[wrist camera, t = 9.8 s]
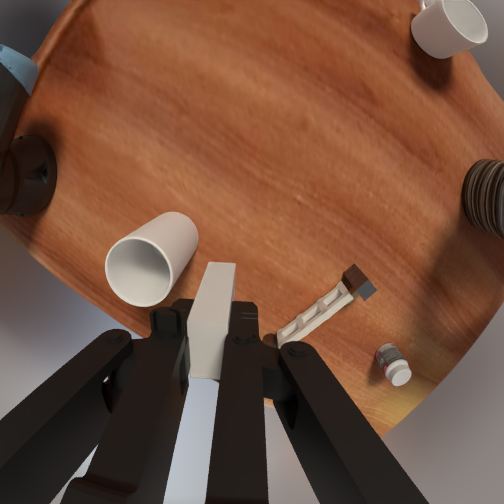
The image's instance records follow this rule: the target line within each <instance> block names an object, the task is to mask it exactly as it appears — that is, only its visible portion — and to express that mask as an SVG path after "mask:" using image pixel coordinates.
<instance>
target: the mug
mask: <svg viewBox="0 0 504 504" xmlns="http://www.w3.org/2000/svg"><path fill="white" fill-rule="evenodd" d="M419 5H420V8H421V12H420V13H419V14H418V15H417V16H415V17H414V19H413V20H412V22H411V31H412V35H413V37H414V39H415V41H416V42H417V44H418V45H419V46H420V47H421V48H422V49H423V51H425V52H426V53H427V54H429V55H430V56H432V57H434V58H438V59H445V58H449V57H451V56H453V55H456V54H458V53H460V52H463V51H465V50H468V49H470V48H472V47H475V46H478V45H480V44H482V43H485V42H486V40H487V38H488V28H487V25H486V22H485V20H484V18H483V16H482V14H481V13H480V12H479V10H478V9H477V8H476V7H475V6H474V4H473V3H471V2H470V1H469V0H436V1H435V2H433V3H432V4H431V5H429V6H428V7H427V8H426V7H425V5H424V0H419Z"/></svg>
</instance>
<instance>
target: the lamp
mask: <svg viewBox="0 0 504 504" xmlns="http://www.w3.org/2000/svg"><path fill="white" fill-rule="evenodd" d="M463 207H464V211H465V214H466V216H467V218H468V220H469V222H470V223H471V224H472V225H473V226H474V227H475V228H477V229H478V230H481V231H483V232H485V233H487V234H489V235H492V236H495V237H497V238H499V239H501V240H503V241H504V161H500V160H492V159H482V160H479V161H477V162H476V163H475V164H474V165H473V166H472V167H471V168H470V170H469V171H468V173H467V175H466V178H465V181H464V186H463Z"/></svg>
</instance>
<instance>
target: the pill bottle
mask: <svg viewBox="0 0 504 504" xmlns="http://www.w3.org/2000/svg"><path fill="white" fill-rule="evenodd" d="M376 359H377V361H378V363H379V365H380V367H381V369H382V370H383V372H384V374H385V376H386V377H387V379H389V380H390V381H391V382H392V384H393V385H394V386H401V385H403V384H405V383H406V382H407V381H408V380H409V379H410V377H411V371H410V369H409V367H408V363H407V361H406V360H405V358H404V357H403V355H402V354H401V352H400V351H399V349H398V348H397V346H396V345H395V344H393V343H387V344H384V345H382V346H381V347H380V348H379V349H378V350H377V352H376Z"/></svg>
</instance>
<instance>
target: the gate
mask: <svg viewBox="0 0 504 504" xmlns="http://www.w3.org/2000/svg"><path fill="white" fill-rule="evenodd" d="M341 294H342V295H341ZM340 295H341V296H340ZM339 296H340V297H339ZM337 297H339V298H338V299H336V298H337ZM335 299H336V300H335ZM353 299H354V298H353V297H352V295H351V294H350V292H349V291H348V289H347V288H346V286H345V285H344V284H343V282H342V281H340V282H339V283H338V284H337V286H336V287H335V288H334V289H333V290H331V291H330V292H329V293H328V294H326V295H325V296H324V297H323V298H319V299H318V300H317V302H316V303H315V304H314V305H313V306H311V307H310V308H309V309H308V310H306V311H305V312H304V313H302V314H301V313H300V314H299V315H298V316H296V319H295V320H293V321H292V322H291V323H289V324H288V325H287V326H285V327H284V328H283V329H282V328H280V329H279V330H278V331H277V339H278V348H279V349H280V347H281V345H283V344H284V343H286V342H290V341H299V340H300V339H301V338H303V337H305V336H306V335H307V334H309V333H310V332H311V331H312V330H314V329H315V328H316V327H318V326H319V325H320V324H322V323H323V322H324V321H325V320H327V319H329V318H330V317H331V316H332V315H333V314H334V313H336V312H337V311H338V310H340V309H341V308H342V307H343V306H345V305H346V304H347V303H348V302H350V301H351V300H353ZM334 300H335V301H334ZM332 301H334V302H333V303H331V302H332ZM330 303H331V304H330ZM329 304H330V305H329ZM327 305H329V306H327ZM320 311H321V312H320ZM319 312H320V313H319ZM317 313H319V314H317ZM316 314H317V315H316ZM315 315H316V316H315ZM313 316H315V317H313ZM312 317H313V318H312ZM311 318H312V319H311ZM309 319H311V320H309ZM308 320H309V321H308ZM307 321H308V322H307ZM306 322H307V323H306ZM298 328H299V329H298ZM296 329H298V330H296ZM295 330H296V331H295ZM294 331H295V332H294ZM292 332H293V333H292ZM291 333H292V334H291ZM289 334H291V335H289ZM288 335H289V336H288ZM287 336H288V337H287ZM286 337H287V338H286Z"/></svg>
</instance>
